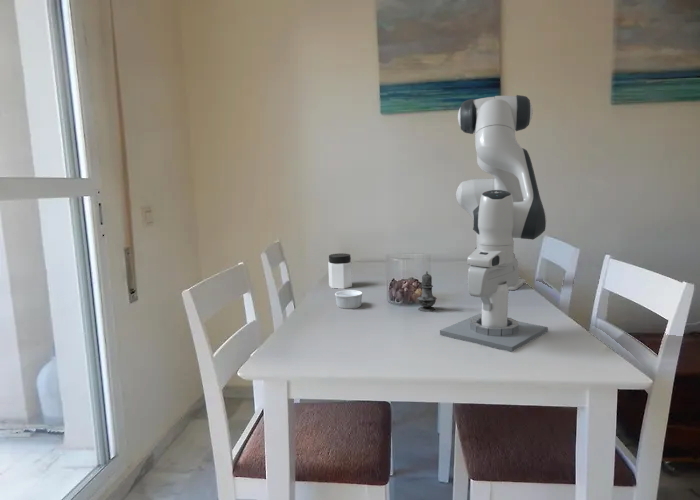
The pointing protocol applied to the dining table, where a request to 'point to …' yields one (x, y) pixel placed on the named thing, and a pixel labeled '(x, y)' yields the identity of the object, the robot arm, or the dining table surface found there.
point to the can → (497, 308)
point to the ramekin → (348, 299)
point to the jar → (340, 271)
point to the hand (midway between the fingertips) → (494, 307)
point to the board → (500, 342)
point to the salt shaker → (427, 294)
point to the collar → (494, 331)
